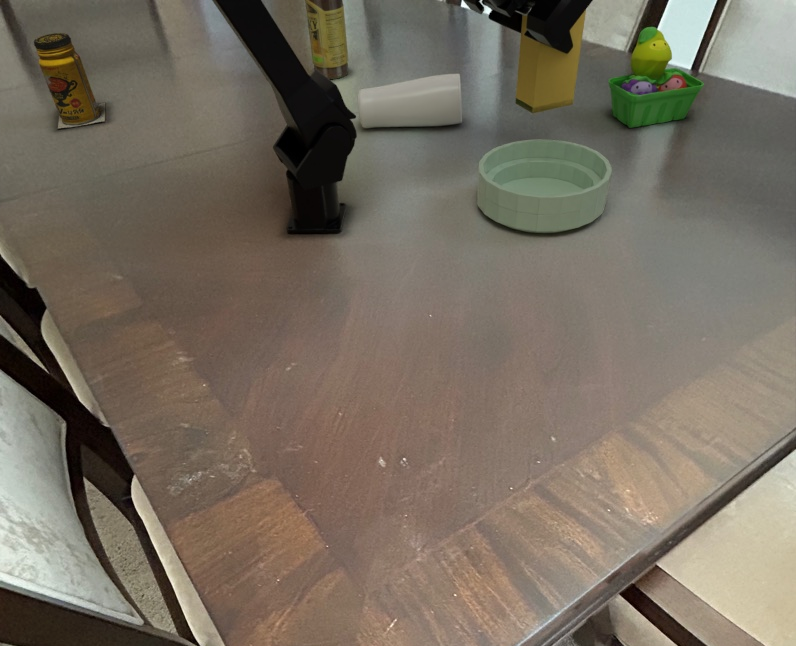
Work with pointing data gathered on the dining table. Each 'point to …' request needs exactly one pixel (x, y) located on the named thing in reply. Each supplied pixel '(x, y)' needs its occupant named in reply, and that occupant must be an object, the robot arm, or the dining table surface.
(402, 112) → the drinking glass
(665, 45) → the fruit basket
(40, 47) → the condiment
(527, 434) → the dining table surface
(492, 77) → the dining table surface
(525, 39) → the sponge
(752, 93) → the dining table surface
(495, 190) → the bowl
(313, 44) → the sauce bottle
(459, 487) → the dining table surface
